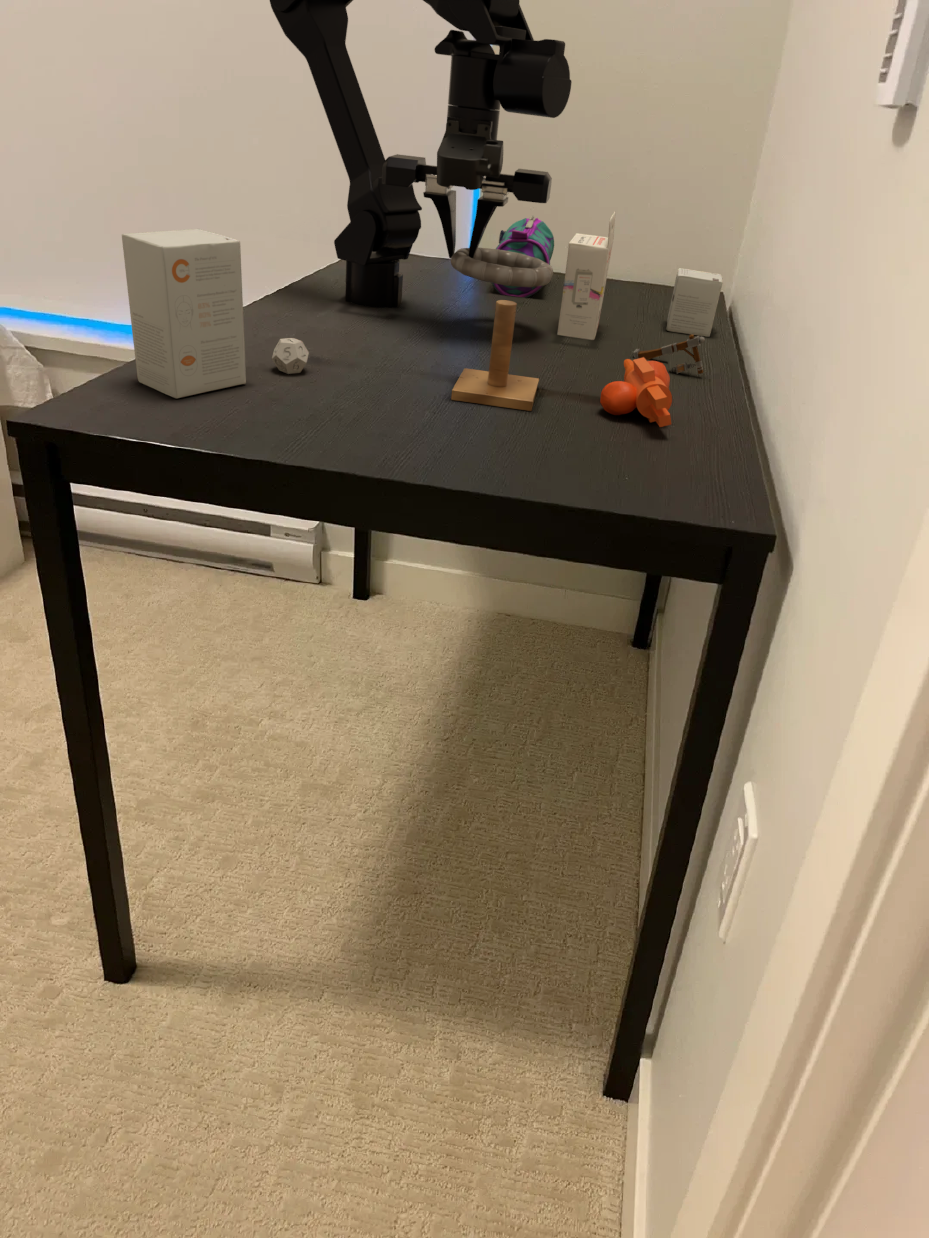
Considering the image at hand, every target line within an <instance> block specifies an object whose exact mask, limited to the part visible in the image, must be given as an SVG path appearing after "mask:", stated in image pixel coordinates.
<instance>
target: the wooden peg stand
mask: <svg viewBox="0 0 929 1238" xmlns="http://www.w3.org/2000/svg"><path fill="white" fill-rule="evenodd" d="M517 306H518V303H517V302H515V301H512V300H509V299H507V300H505V299H499V300H496V302H495V310H494V317H493V318H494V319H493V328H492V337H491V346H490V355H489V356H490V357H489V362H488V363H489V364H488V371H487V370H480V369H473V368H465V367H464V368H463V370H462V372H461V374H460V375H459V377H458V379H457V381H456V382H455V384H454V386H453V388H452V390H451V395H450V396H451V398H450V400H451V401H457V402H465V403H472V404H478V405H486V406H491V407H500V408H505V409H506V408H507V409H512V410H513V409H514V410H520V411H526V412H527V411H528V412H532V410H533V407H534V402H535V400H536V397H537V392H538V389H539V387H538V385H539V382H540V378H537V377H531V376H523V375H515V374H509V371H510V362H511V355H512V347H513V340H514V339H513V338H514V330H515V323H516V314H517Z"/></svg>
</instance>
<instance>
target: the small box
mask: <svg viewBox="0 0 929 1238" xmlns="http://www.w3.org/2000/svg"><path fill="white" fill-rule="evenodd" d="M121 241H122V251H123V259H124V269H125V278H126V286H127V288H126V289H127V295H128V297H127V298H128V305H129V314H130V324H131V334H132V342H133V350H134V351H133V352H134V358H135V368H136V376H137V380H138V383H140V384H143V385H144V386H147V387H149V388H151V389H153V390H156V391H158V392H160V393H162V394H165V395H167V396H169V397H170V398H173V399H180V398H185V397H189V396H193V395H194V396H195V395H198V394H202V393H207V392H213V391H217V390H221V389H225V388H230V387H235V386H240V385H245V384H247V372H246V371H247V370H246V349H245V348H246V346H245V345H246V344H245V324H244V323H245V321H244V320H245V319H244V302H243V298H244V297H243V280H242V279H243V277H242V275H243V273H242V255H241V254H242V253H241V251H242V249H241V241H240V240H238V239H235V238H234V237H230V236H227V235H224V234H221V233H217V232H212V231H209V230H205V229H200V228H191V229H174V230H162V231H161V230H160V231H148V232H147V231H146V232H133V233H122V234H121Z"/></svg>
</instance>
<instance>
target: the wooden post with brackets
mask: <svg viewBox="0 0 929 1238" xmlns="http://www.w3.org/2000/svg"><path fill="white" fill-rule="evenodd" d="M705 340H706V337H705V336H698V335H696V336H695V335H693V334H689V335H688V338H687V340H684V341H680V342H677V341H676V342H674V343H671V344H668V345H663V346H661V347H659V348H654V349H647V350H641V349H640V348H636V349H635V350H634V351H633V356H634V360H635V359H639V358H643V357H644V358H645V359H646V361H650V360H652V359H655V358H658V357H664V356H665V357H666V356H667V355H672V354H674V353H675V354H676V353H678V352H679V351H684V352H685V353H686V354H688V355H689V356H690V357H691V358H692V359H693V360H694V361H695V362H694V363H691V362H690V363H689V364H688V363H687V362H686V361H684V362H683V363H680V364H678V363H677V364H676V365H675V366H673V367H672V368H671V372H672V373H676V375H678V374H679V373H683V372H684V373H688V370H689V369H690V370H691V369H693V368H694V367H695V369H696V371H697V374H698V375H700V374H703V373H704V367H703V361H702V359H701V356H700V352H699V348H698V346H701V344H703V343H705ZM689 349H692V352H691V351H689Z"/></svg>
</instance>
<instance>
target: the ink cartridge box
mask: <svg viewBox="0 0 929 1238" xmlns="http://www.w3.org/2000/svg"><path fill="white" fill-rule="evenodd" d="M608 222H609V223H608V234H607V235H608V236H602V235H594V234H586V233H578V232H576V233H575V234H574V235H573V237H572V238H571V240H569V242H568V247H567V248H568V249H567V257H566V265H565V272H564V279H563V288H562V295H561V304H560V309H559V310H560V311H559V318H558V324H557V332H556V335H557V336H563V337H570V338H575V339H583V340H590V341H594V340H595V339H596V336H597V333H598V328H599V324H600V319H601V313H602V308H603V302H604V295H605V290H606V285H607V280H608V273H609V267H610V262H611V255H612V249H613V243H614V237H615V226H616V225H615V224H616V211H613V214H611V216H610V218H609V221H608Z"/></svg>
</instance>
